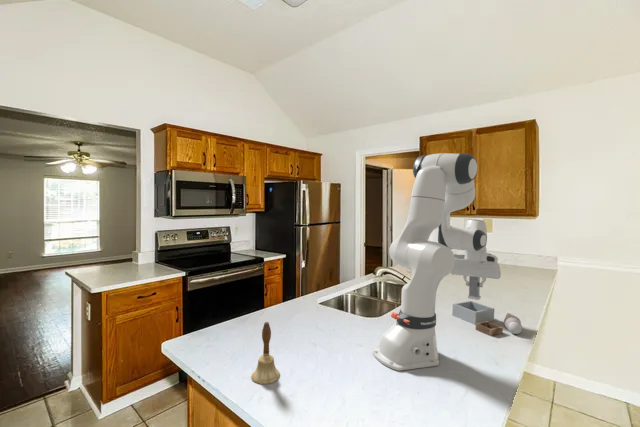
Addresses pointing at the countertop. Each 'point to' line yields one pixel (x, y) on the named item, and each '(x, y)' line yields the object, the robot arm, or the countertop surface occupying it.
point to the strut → (474, 288)
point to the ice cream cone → (512, 323)
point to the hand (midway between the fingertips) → (474, 286)
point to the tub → (473, 312)
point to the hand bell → (265, 362)
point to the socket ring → (489, 328)
